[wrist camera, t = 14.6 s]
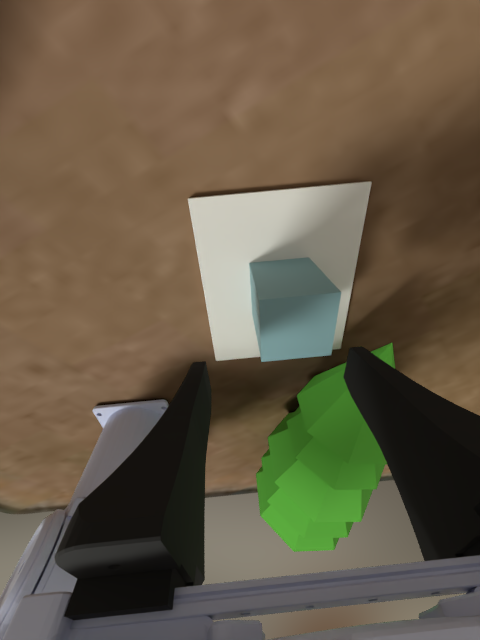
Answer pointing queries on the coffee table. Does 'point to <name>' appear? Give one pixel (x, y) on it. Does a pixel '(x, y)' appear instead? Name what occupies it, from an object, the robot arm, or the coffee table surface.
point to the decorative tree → (320, 464)
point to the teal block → (293, 309)
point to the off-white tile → (273, 250)
